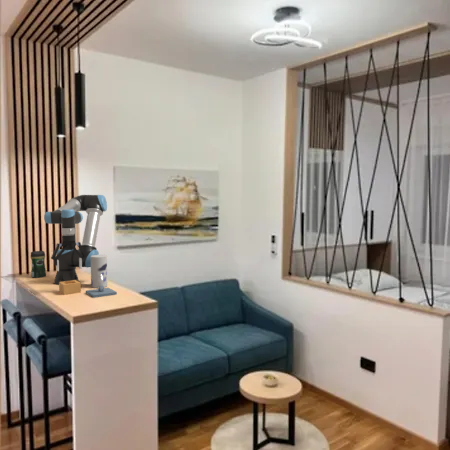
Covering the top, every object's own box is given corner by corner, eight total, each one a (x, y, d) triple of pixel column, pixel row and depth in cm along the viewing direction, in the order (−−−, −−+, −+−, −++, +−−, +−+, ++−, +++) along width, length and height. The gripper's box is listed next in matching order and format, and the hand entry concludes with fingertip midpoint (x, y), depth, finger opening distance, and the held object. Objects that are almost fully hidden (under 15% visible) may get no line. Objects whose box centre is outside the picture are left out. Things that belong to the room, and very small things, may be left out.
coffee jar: (43, 275, 311) (42, 249, 310) (47, 276, 305) (46, 251, 304) (29, 276, 305) (28, 251, 303) (33, 278, 299) (32, 252, 297)
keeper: (85, 293, 258) (85, 273, 257) (108, 289, 266) (107, 270, 265) (93, 297, 247) (93, 277, 246) (116, 294, 255) (116, 274, 254)
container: (102, 288, 270) (102, 257, 269) (88, 287, 272) (87, 256, 271) (110, 284, 280) (109, 254, 278) (96, 284, 282) (95, 254, 280)
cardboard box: (59, 291, 261) (59, 281, 261) (75, 289, 267) (75, 279, 267) (63, 294, 253) (63, 284, 253) (80, 292, 259) (80, 282, 259)
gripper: (48, 236, 247) (49, 272, 249) (91, 234, 262) (91, 268, 263) (45, 235, 253) (46, 270, 255) (87, 233, 268) (87, 266, 269)
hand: (69, 269), depth 259 cm, fingers open, 13 cm apart
